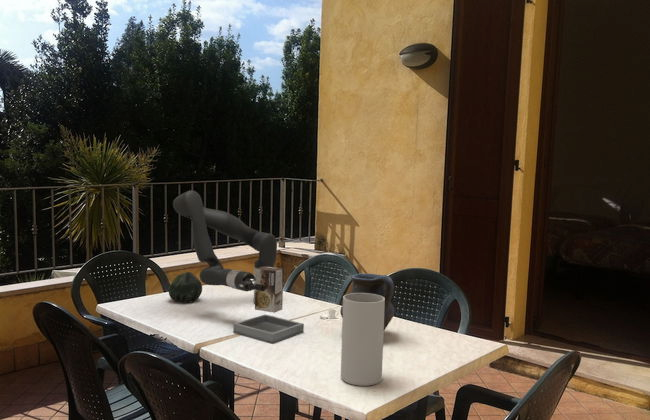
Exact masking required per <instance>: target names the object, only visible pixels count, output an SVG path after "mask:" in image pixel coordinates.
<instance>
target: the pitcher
mask: <svg viewBox="0 0 650 420" xmlns="http://www.w3.org/2000/svg"><path fill="white" fill-rule="evenodd" d="M350 279H351V281H352V287H351V290H350V292H349V294H351V293H370V294H376V295H380V296H382V297H384V298H385V308H384V332H385V330H386V329H387V328H388V326H389V324H390V323H391V321H392V319H393V318H394V315H395V312H396V311H395V307H394V305H393V304H392V302H391V300H392V298H393V295H394V292H395V283H394V281H393V279H392V278H391V276H389V275H387V274H377V273H375V274H374V273H355V274H353V275H351V277H350ZM340 316H341V319H342V318H343V304H342V305H341V307H340Z"/></svg>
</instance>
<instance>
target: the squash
mask: <svg viewBox="0 0 650 420" xmlns="http://www.w3.org/2000/svg"><path fill="white" fill-rule="evenodd" d="M199 279H200V278H198V277H197V276H196V275H195V274H194V273H192V272H191V271H186V272H183V273H180V274H178V275H176V276H175V277H174V278H173V280H171V283H170V284H169V287H168V295H169V298H170V299H171V300H172V301H174V302H181V303H182V302H184V303H186V304H189V303H193V302H195V301H197V300H198V299H199V298H200V297H201V295H202V292H203V285H202V281H201V280H199Z"/></svg>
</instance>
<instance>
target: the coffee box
mask: <svg viewBox="0 0 650 420" xmlns="http://www.w3.org/2000/svg"><path fill="white" fill-rule="evenodd" d="M284 272H285V271H284V268H282V267H275V266H274V267H267V266H263V267H260V268H256V284H260V285H264V286H265V291H258V290H255V304H254V310H255V311H256V310H257V311H262V312H268V313H275V314H276V313H277V312H280V311H282V310H283V297H284Z"/></svg>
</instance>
